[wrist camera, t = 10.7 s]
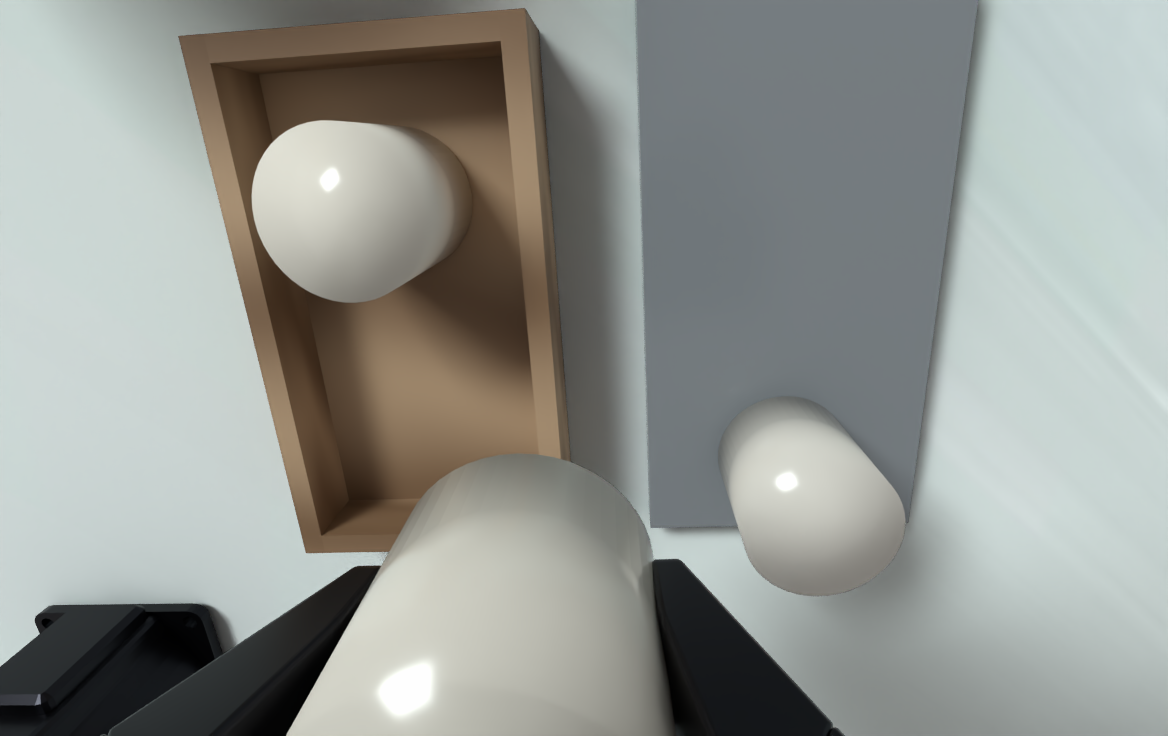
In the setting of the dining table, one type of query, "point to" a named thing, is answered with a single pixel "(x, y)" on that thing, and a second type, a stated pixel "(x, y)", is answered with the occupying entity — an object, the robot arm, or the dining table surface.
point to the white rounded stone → (808, 498)
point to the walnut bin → (420, 306)
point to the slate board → (792, 222)
